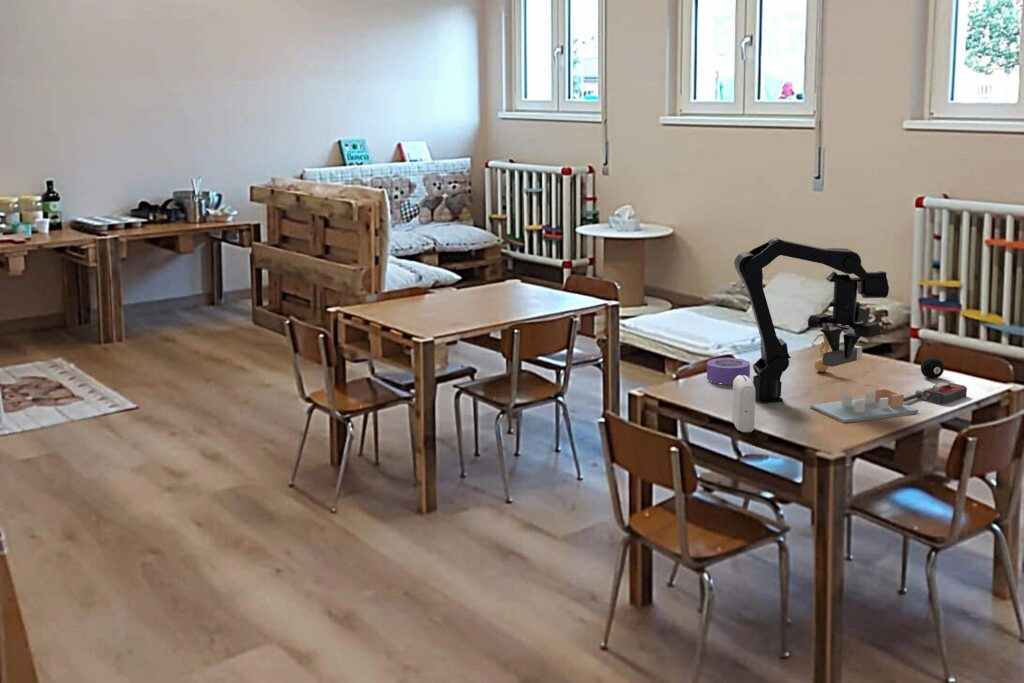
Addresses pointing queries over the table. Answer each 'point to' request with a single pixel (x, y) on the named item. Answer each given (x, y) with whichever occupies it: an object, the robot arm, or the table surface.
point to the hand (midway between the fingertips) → (841, 357)
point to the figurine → (819, 362)
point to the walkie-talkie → (940, 393)
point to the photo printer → (743, 404)
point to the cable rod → (841, 356)
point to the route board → (861, 408)
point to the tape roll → (727, 369)
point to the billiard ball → (932, 367)
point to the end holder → (890, 397)
